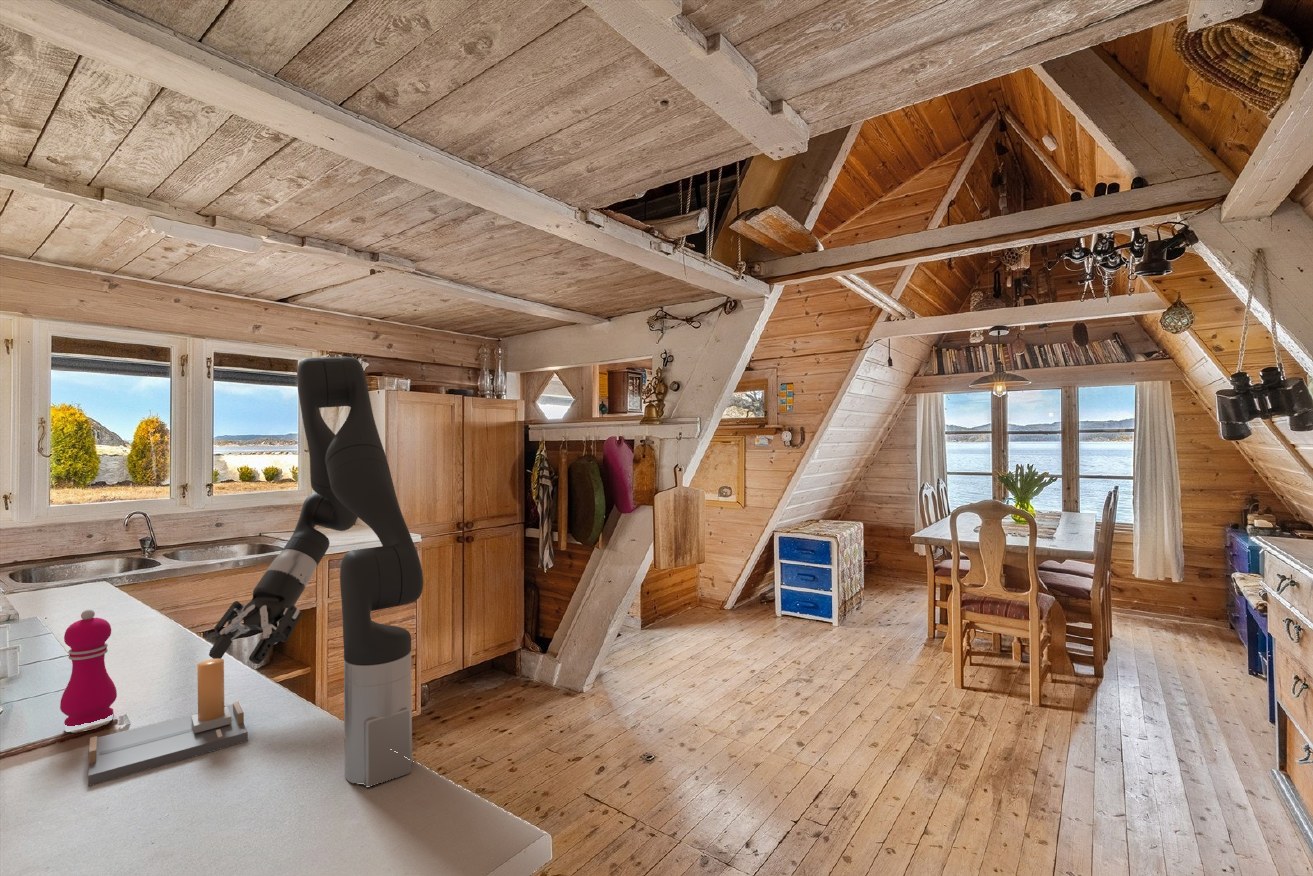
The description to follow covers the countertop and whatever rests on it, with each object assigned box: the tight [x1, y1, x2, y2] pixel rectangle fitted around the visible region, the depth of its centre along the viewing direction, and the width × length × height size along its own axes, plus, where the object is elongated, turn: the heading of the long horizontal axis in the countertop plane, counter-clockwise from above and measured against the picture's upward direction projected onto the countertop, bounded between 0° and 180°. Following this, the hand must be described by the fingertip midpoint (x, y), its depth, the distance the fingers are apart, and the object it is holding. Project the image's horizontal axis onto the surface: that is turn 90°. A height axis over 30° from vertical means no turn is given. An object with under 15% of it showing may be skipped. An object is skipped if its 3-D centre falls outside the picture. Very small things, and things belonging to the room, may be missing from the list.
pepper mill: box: [59, 609, 118, 726], centre depth 107 cm, size 7×7×20 cm
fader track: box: [87, 701, 249, 787], centre depth 100 cm, size 14×19×3 cm
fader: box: [190, 658, 232, 733], centre depth 103 cm, size 5×5×10 cm
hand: (233, 660), depth 107 cm, fingers open, 8 cm apart
